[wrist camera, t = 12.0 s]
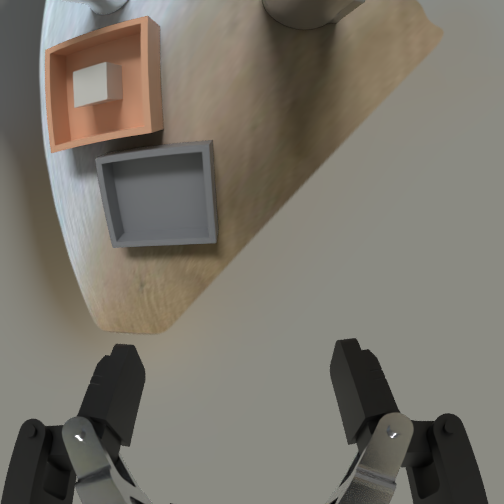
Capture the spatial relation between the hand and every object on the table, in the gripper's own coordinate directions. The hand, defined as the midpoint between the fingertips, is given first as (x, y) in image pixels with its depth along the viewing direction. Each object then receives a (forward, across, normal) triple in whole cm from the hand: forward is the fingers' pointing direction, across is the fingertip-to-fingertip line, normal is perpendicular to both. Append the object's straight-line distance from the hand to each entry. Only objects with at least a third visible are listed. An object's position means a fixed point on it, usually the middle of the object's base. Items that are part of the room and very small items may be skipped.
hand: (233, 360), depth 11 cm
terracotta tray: (+28, +16, -14) cm, 35 cm away
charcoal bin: (+28, +10, +1) cm, 30 cm away
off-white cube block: (+27, +16, -14) cm, 34 cm away
